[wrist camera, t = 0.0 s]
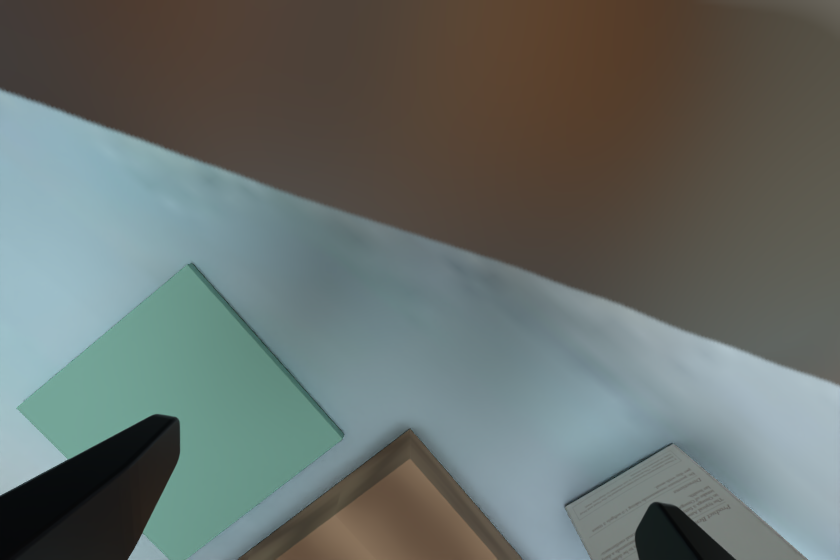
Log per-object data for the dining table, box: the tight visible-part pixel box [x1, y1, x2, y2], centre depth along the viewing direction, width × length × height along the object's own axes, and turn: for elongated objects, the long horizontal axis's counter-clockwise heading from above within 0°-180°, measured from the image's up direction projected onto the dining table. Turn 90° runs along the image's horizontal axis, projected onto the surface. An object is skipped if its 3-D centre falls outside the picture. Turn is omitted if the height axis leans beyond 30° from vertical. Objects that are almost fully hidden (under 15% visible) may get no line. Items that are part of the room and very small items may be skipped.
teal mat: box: [17, 264, 344, 560], centre depth 24 cm, size 12×12×1 cm
